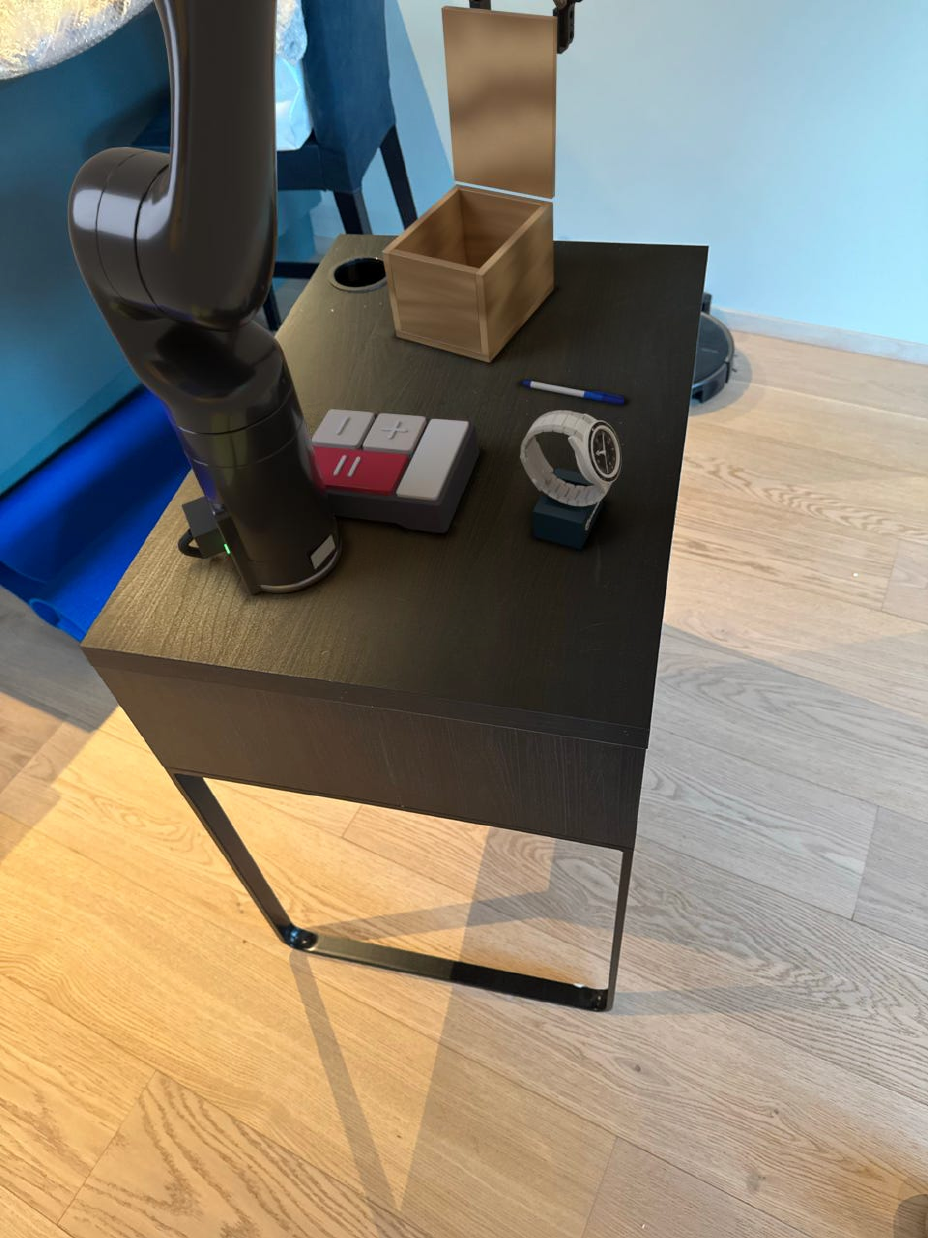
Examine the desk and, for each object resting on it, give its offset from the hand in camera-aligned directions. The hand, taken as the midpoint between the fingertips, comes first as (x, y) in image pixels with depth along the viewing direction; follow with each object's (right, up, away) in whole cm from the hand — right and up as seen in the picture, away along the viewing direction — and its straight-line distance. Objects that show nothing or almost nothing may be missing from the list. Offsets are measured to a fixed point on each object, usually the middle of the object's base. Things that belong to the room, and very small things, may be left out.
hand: (522, 46), depth 82 cm
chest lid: (-2, -6, 0) cm, 6 cm away
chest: (-4, -22, +11) cm, 25 cm away
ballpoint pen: (+5, -34, +2) cm, 35 cm away
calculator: (-13, -44, -4) cm, 46 cm away
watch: (+4, -48, -9) cm, 49 cm away
